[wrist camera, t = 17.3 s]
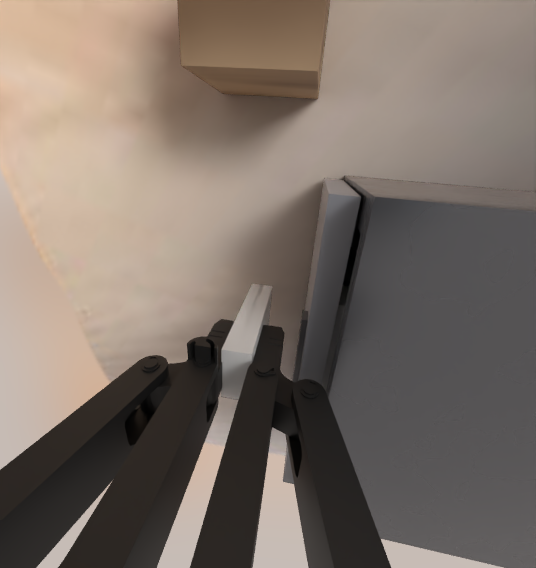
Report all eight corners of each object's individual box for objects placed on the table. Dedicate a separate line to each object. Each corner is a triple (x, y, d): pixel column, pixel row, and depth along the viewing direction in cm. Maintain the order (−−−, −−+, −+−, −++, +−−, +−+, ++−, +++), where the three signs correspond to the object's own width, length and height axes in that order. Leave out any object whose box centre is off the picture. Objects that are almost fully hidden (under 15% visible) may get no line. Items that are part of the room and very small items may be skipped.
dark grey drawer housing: (344, 175, 15) (375, 196, 7) (608, 198, 14) (1027, 257, 6) (306, 387, 22) (300, 519, 14) (479, 418, 21) (583, 586, 12)
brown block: (223, -39, 12) (169, -151, 8) (335, -40, 12) (345, -161, 7) (223, 93, 14) (181, 65, 10) (317, 98, 14) (318, 71, 9)
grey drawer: (319, 177, 15) (320, 193, 9) (582, 200, 14) (820, 239, 7) (290, 385, 22) (278, 480, 15) (463, 416, 20) (531, 536, 14)
